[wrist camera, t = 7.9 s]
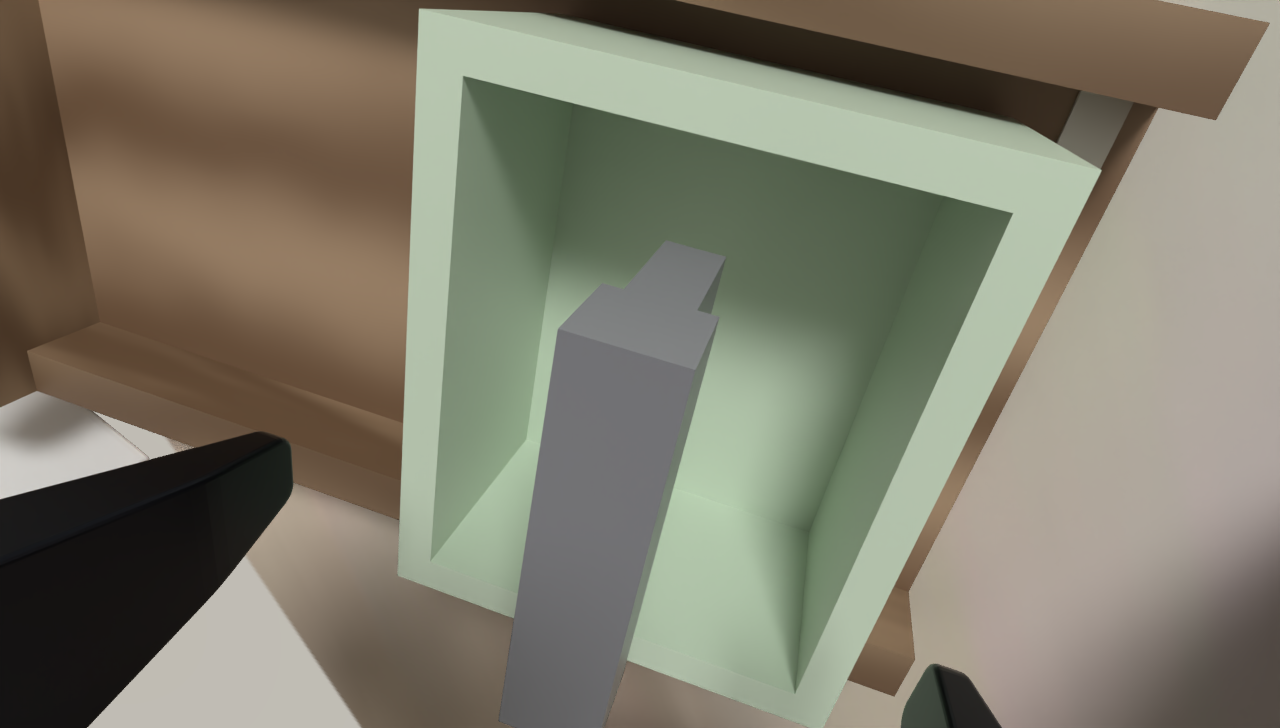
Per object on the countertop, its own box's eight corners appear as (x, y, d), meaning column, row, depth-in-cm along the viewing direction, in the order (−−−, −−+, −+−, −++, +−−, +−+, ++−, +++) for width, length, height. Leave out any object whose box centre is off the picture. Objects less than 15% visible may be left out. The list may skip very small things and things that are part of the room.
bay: (889, 615, 22) (899, 783, 17) (85, 341, 26) (-88, 413, 21) (1191, 22, 14) (1370, 22, 9) (-32, -227, 18) (-349, -317, 13)
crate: (829, 549, 20) (811, 946, 12) (507, 442, 22) (275, 723, 13) (1013, 117, 15) (1250, 257, 6) (560, 13, 16) (212, 1, 7)
